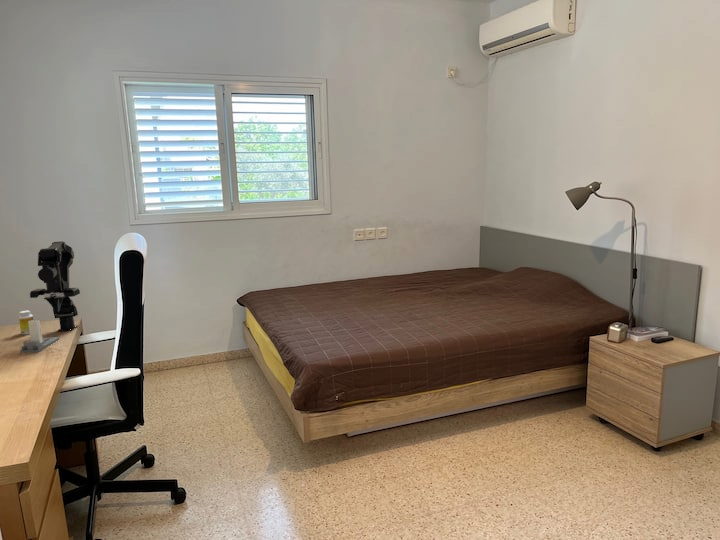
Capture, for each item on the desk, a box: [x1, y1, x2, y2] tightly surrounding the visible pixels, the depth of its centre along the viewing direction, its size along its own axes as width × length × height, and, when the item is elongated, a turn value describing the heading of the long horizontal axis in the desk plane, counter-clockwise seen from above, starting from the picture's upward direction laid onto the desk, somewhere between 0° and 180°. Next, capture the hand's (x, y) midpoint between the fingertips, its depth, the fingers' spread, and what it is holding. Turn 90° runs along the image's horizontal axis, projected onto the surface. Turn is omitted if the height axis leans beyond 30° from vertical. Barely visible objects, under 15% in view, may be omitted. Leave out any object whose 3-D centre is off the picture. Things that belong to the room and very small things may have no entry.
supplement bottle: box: [17, 309, 34, 335], centre depth 231 cm, size 6×6×10 cm
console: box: [19, 336, 60, 354], centre depth 212 cm, size 16×7×4 cm, turn 2°
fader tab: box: [28, 319, 44, 346], centre depth 209 cm, size 4×4×10 cm
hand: (57, 311), depth 221 cm, fingers closed
